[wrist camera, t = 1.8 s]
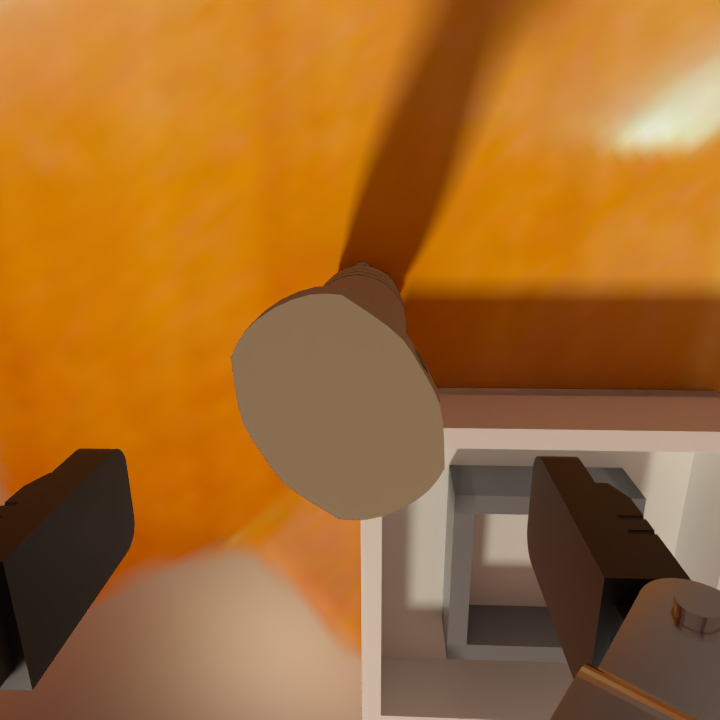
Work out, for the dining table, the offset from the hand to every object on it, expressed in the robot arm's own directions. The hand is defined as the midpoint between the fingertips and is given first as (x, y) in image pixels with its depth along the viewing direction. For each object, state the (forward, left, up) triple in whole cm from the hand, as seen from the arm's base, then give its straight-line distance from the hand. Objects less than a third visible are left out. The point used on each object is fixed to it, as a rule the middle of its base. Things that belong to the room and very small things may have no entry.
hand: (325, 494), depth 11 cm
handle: (0, 0, -19) cm, 19 cm away
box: (+14, +9, -19) cm, 25 cm away
